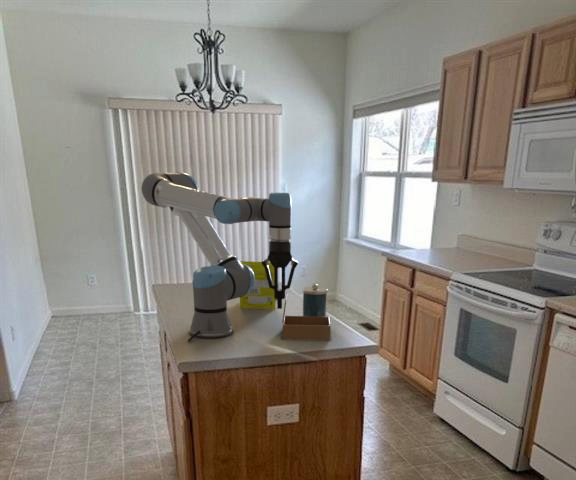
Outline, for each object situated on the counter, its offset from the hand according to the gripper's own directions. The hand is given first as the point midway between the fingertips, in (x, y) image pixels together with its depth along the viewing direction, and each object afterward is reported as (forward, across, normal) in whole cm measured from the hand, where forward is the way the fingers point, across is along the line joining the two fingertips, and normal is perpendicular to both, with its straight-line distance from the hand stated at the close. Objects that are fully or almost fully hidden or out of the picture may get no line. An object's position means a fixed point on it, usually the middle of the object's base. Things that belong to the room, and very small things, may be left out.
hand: (279, 307), depth 191 cm
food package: (+10, +12, -38) cm, 41 cm away
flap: (0, -2, 0) cm, 2 cm away
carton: (+10, -10, 0) cm, 14 cm away
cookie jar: (+10, -13, -14) cm, 22 cm away
